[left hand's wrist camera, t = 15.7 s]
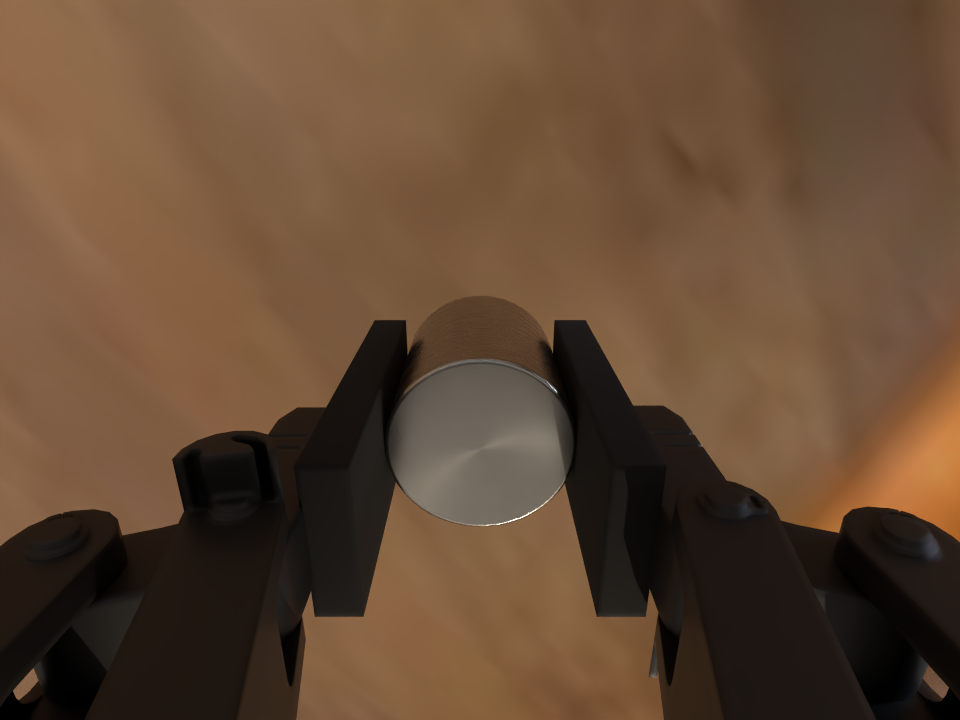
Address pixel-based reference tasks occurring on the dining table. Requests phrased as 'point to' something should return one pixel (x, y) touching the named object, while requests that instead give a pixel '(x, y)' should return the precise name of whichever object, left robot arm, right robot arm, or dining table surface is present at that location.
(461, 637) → the dining table surface
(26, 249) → the dining table surface
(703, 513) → the left robot arm
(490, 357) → the tin
